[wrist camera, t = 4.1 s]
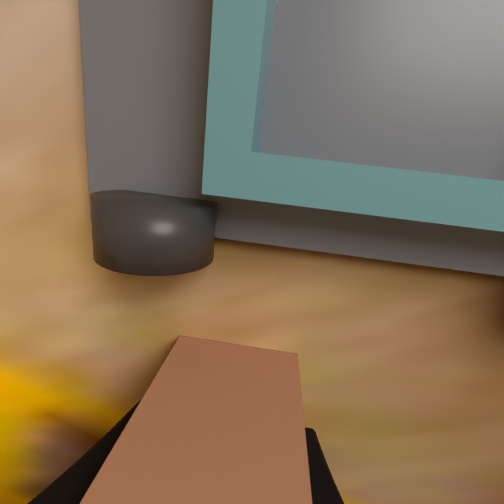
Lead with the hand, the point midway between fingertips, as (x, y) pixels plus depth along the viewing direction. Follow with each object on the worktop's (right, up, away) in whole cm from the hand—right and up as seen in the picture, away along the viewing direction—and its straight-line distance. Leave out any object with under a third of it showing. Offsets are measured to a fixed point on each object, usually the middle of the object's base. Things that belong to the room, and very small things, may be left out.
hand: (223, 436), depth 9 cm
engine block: (0, +1, +2) cm, 2 cm away
